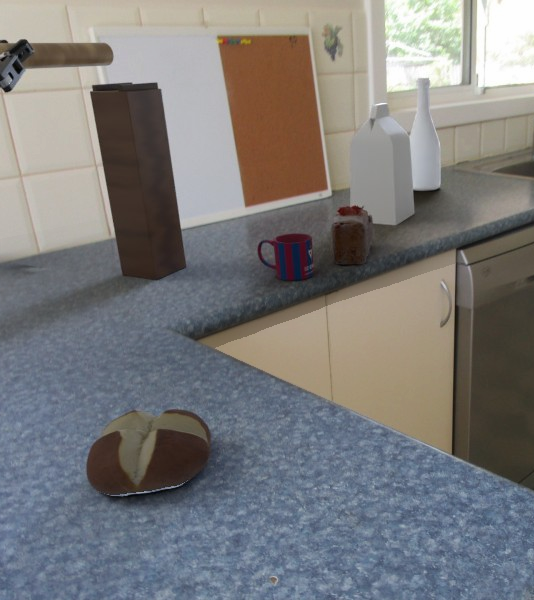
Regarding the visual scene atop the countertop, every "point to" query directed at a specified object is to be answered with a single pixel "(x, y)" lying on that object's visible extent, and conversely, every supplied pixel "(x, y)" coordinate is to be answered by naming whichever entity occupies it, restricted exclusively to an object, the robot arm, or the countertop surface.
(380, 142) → the milk
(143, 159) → the stand
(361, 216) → the food item
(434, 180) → the wine bottle
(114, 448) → the bread
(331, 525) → the countertop surface
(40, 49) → the rolling pin
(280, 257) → the mug
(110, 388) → the countertop surface
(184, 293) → the countertop surface
